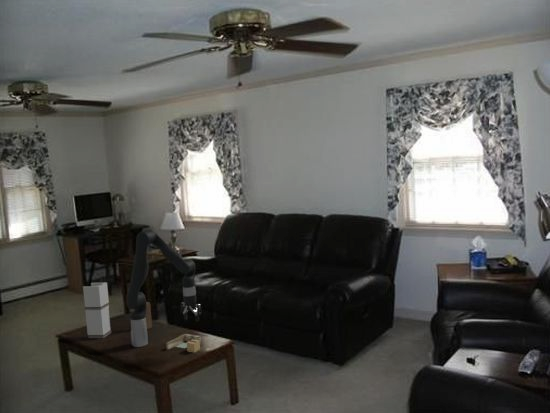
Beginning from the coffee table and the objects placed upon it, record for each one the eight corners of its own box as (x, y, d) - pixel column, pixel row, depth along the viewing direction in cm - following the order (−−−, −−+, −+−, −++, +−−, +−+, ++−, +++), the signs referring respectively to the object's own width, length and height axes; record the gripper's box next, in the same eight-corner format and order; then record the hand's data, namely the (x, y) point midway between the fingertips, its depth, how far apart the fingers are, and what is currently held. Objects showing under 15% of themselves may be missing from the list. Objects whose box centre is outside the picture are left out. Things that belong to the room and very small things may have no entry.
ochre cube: (187, 351, 293) (186, 342, 293) (193, 348, 298) (192, 339, 298) (194, 352, 291) (193, 343, 290) (200, 349, 295) (199, 340, 295)
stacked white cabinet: (111, 332, 337) (106, 282, 334) (103, 338, 327) (98, 286, 324) (96, 332, 339) (91, 282, 336) (87, 338, 329) (82, 286, 326)
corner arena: (166, 349, 299) (166, 343, 298) (185, 339, 313) (184, 333, 313) (183, 352, 292) (182, 345, 292) (201, 342, 307) (200, 336, 306)
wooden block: (140, 331, 336) (138, 305, 334) (137, 329, 339) (135, 304, 338) (152, 327, 342) (150, 302, 340) (149, 326, 345) (147, 301, 344)
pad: (175, 346, 302) (175, 346, 302) (183, 342, 308) (183, 342, 308) (184, 348, 298) (184, 348, 298) (192, 344, 305) (192, 343, 305)
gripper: (176, 294, 292) (178, 321, 293) (194, 296, 285) (197, 323, 286) (184, 291, 299) (186, 317, 300) (203, 293, 291) (205, 319, 293)
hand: (191, 320), depth 293 cm, fingers open, 8 cm apart
